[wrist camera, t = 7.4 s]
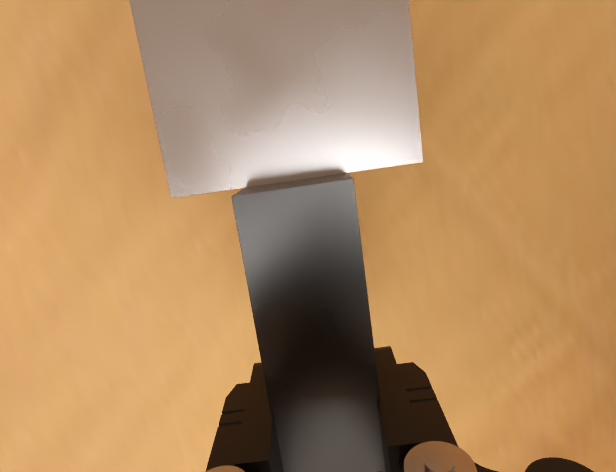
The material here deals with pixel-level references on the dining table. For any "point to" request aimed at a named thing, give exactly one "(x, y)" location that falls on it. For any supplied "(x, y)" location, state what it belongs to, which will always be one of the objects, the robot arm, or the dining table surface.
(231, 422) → the robot arm
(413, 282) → the dining table surface
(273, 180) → the turner
